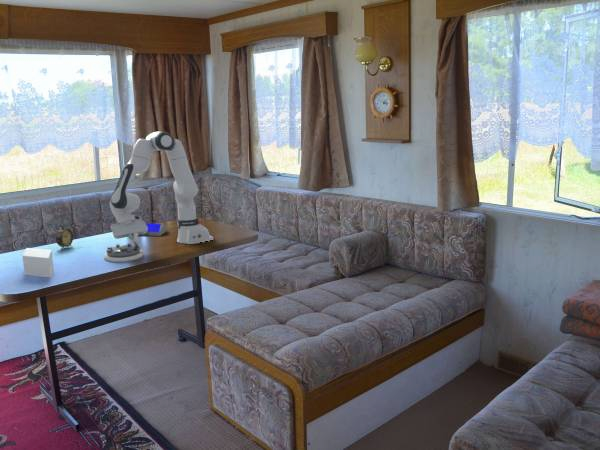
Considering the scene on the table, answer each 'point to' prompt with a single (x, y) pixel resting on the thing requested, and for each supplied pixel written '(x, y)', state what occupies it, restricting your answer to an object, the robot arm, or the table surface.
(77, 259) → the table surface
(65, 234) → the alarm clock
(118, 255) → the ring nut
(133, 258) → the base plate
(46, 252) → the white box
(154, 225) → the blue screen device
